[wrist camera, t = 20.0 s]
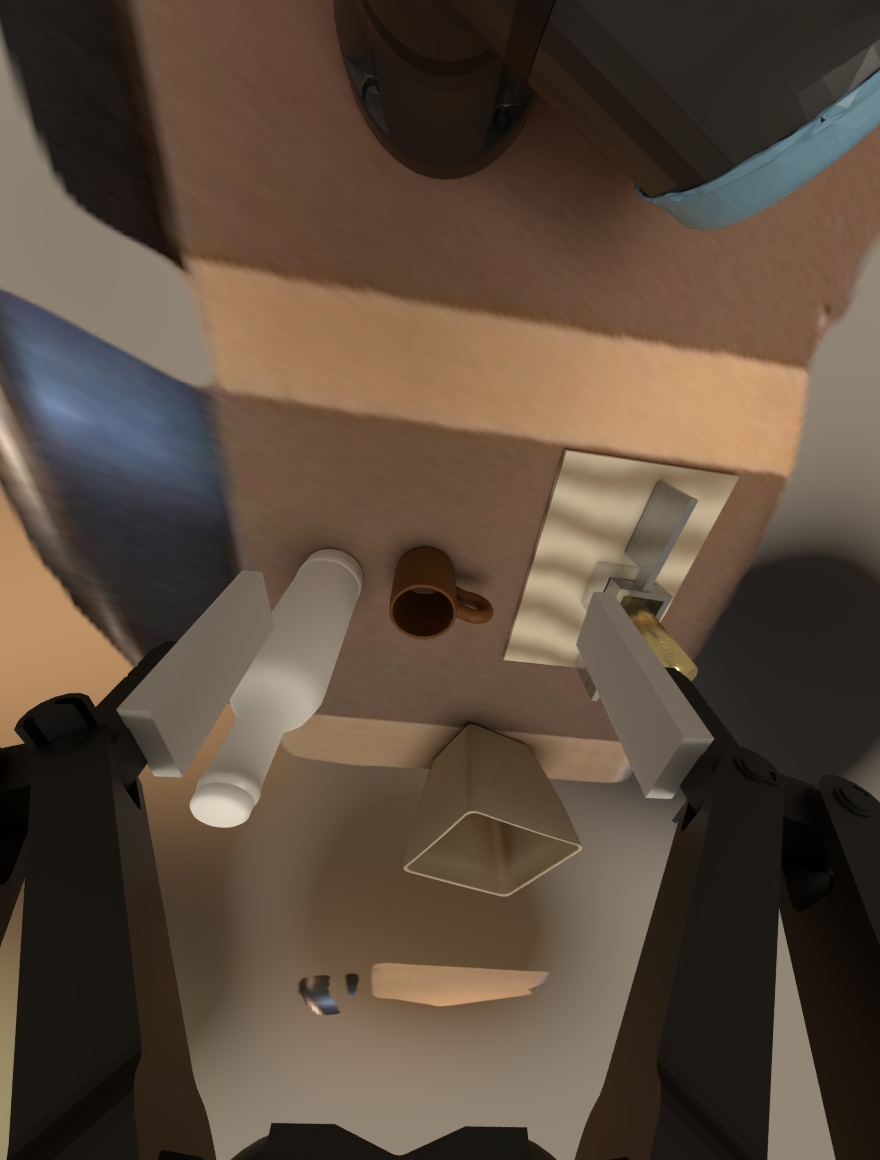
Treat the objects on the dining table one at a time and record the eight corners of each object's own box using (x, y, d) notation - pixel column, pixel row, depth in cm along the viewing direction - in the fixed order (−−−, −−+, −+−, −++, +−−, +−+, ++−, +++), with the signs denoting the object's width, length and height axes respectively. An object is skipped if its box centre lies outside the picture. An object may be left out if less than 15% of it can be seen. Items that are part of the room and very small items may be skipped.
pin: (605, 573, 48) (671, 660, 34) (629, 576, 48) (703, 664, 34) (596, 594, 50) (655, 685, 36) (619, 597, 50) (687, 688, 36)
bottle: (325, 535, 46) (183, 757, 20) (376, 572, 49) (307, 811, 23) (291, 576, 49) (128, 817, 23) (341, 610, 52) (244, 858, 26)
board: (563, 448, 41) (566, 450, 40) (733, 474, 43) (739, 476, 42) (502, 655, 56) (503, 659, 55) (630, 668, 58) (633, 673, 57)
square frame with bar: (635, 477, 42) (666, 495, 36) (687, 486, 42) (726, 505, 36) (580, 602, 50) (599, 633, 44) (624, 609, 50) (648, 640, 45)
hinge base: (624, 490, 43) (655, 512, 37) (676, 498, 43) (715, 520, 37) (557, 661, 56) (571, 698, 50) (597, 666, 56) (616, 702, 50)
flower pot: (492, 794, 75) (506, 899, 60) (408, 765, 70) (400, 872, 55) (553, 741, 66) (586, 847, 52) (462, 703, 61) (470, 809, 47)
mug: (493, 556, 48) (505, 596, 40) (479, 605, 52) (487, 650, 44) (400, 540, 47) (392, 578, 39) (392, 591, 50) (384, 635, 42)
